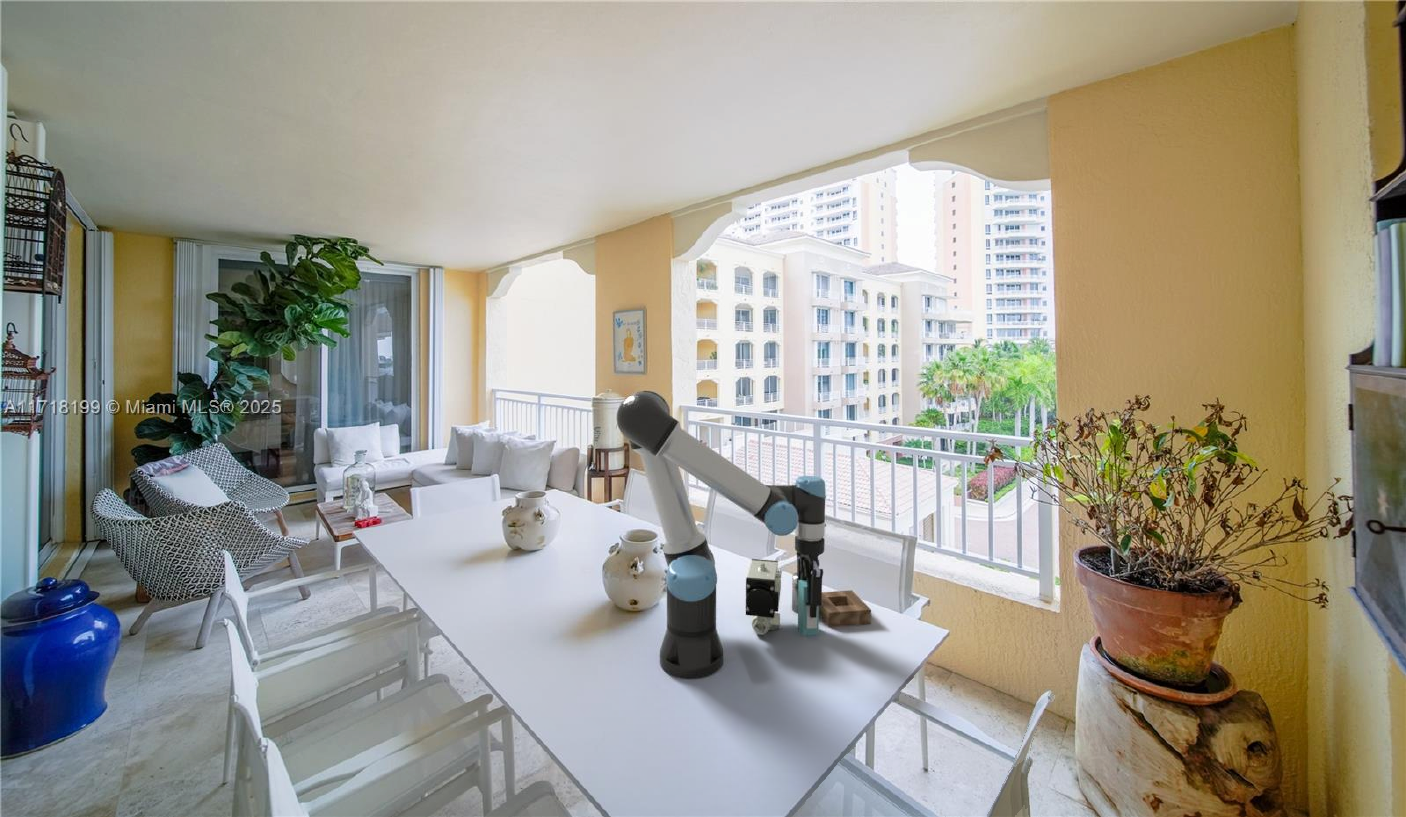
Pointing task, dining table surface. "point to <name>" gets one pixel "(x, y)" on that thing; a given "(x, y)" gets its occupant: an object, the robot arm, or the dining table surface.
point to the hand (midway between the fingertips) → (808, 622)
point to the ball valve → (763, 595)
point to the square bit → (802, 610)
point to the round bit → (794, 593)
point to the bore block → (843, 609)
